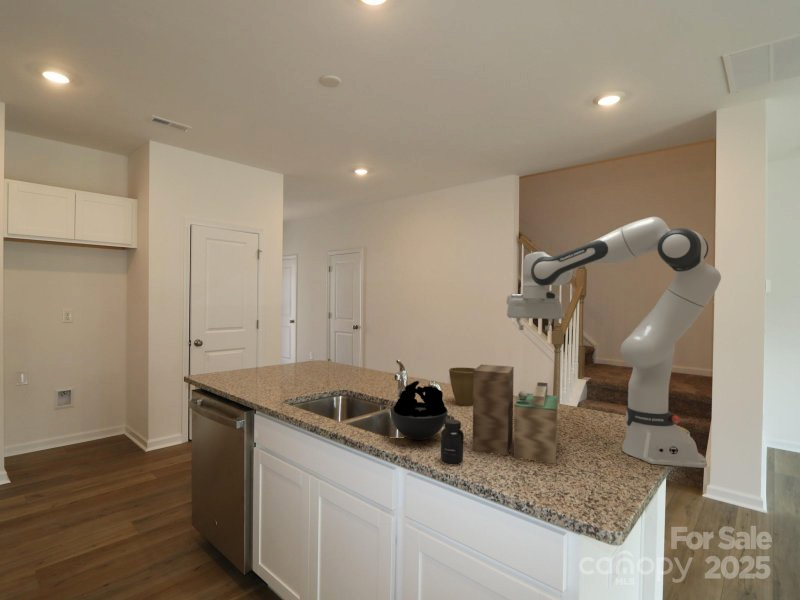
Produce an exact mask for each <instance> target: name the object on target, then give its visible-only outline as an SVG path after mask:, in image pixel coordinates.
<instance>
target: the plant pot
mask: <svg viewBox="0 0 800 600" xmlns="http://www.w3.org/2000/svg"><path fill="white" fill-rule="evenodd" d="M475 369H476V368H474V367H459V366H458V367H451V368H449V369H448V372H449V380H450V385H451V390H452V393H453V394H452V395H453V397H454V400H455V402H456V405H458V406H462V407H463V406H464V407H469V406H473V370H475Z"/></svg>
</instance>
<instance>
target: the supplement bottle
mask: <svg viewBox="0 0 800 600" xmlns="http://www.w3.org/2000/svg"><path fill="white" fill-rule="evenodd" d="M443 427H444V428H442V429H441V430H442V431H441V433H440V460H441V462H442V463H443V462H444V463H443V464H445V463H446V465H449V464H458V465H460V464H459V463H461V462H462V463H463V461H464V446H465V445H464V441H465V440H464V439H465V436H464V434H465V433H464V432H463V431H462V429H461V428H462V427H461V420H458V419H450V418H449V419H446V420H445V424H444V425H443ZM462 463H461V464H462Z"/></svg>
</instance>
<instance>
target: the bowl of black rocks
mask: <svg viewBox="0 0 800 600" xmlns="http://www.w3.org/2000/svg"><path fill="white" fill-rule="evenodd" d="M419 384H420V381H419V380H415V381H412V382H411V383H409V384H407V385H406V386H405V387H404V390H403V391H402V392H401V393H400V395H399V397H398V399H397V400H396V403H395V404H394V405H393V406H391V408H390V410H389V411H390V417H391V420H392V423H393V425H394V427H395V428H396V429H397V431H398V432H399V433H401V434H402V435H403V436H405V437H406V438H409V439H411V440H412V439H413V440H419V441H420V440H421V441H422V440H426V439H430V438H432V437H434V436H435V435H436V434H438V433H439V432H440V431H441V430H443V427H444V425H445V420H447V419H448V418H447V417H448V408H447V407H446V406H445V403H444V400H443V396H444V394H443V391H442V390H440V389H438V387H436V386H434V387H433V386H432V385H431V386H430V385H429V386H428V385H424V386H423V387H421V386H418V385H419ZM416 394H417V395H419V397H420V399H421V401H418V399H417V398H416V396H417V395H416Z"/></svg>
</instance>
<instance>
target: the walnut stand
mask: <svg viewBox="0 0 800 600" xmlns="http://www.w3.org/2000/svg"><path fill="white" fill-rule="evenodd" d="M513 444H514V366H507V365H506V366H505V365H493V364H479V366H477V367H476V368H475V370H473V404H472V449H471V451H472V452H475V451H478V452H477V453H482V452H485V453H484V454H489V453H493V454H492V455H495V454H500V455H499V456H502V455H508V456H509V454H510V451H511V448H512V446H513ZM511 445H512V446H511ZM509 450H510V451H509ZM508 453H509V454H508Z"/></svg>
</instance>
